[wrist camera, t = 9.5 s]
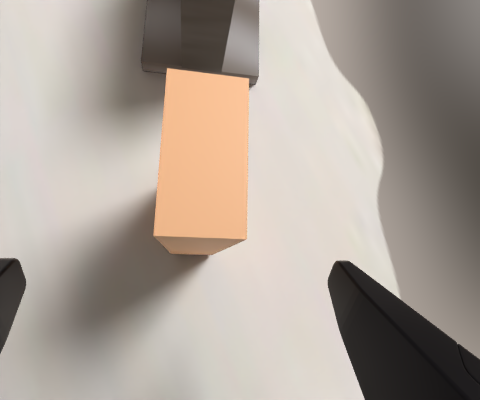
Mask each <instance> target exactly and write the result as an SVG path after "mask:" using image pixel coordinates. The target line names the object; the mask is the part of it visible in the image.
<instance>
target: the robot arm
mask: <svg viewBox="0 0 480 400" xmlns="http://www.w3.org/2000/svg"><path fill="white" fill-rule="evenodd" d="M25 288H26V279H25V276H24V273H23V270H22V267H21V264H20V262H19V260H18V259H15V258H0V353H1V351H2V349H3V347H4V345H5V342H6V340H7V337H8V335H9V332H10V329H11V326H12V324H13V321H14V318H15V315H16V313H17V310H18V307H19V305H20V302H21V299H22V296H23V294H24V291H25ZM328 288H329V292H330V296H331V300H332V304H333V308H334V312H335V316H336V319H337V323H338V327H339V330H340V333H341V336H342V339H343V342H344V345H345V347H346V350H347V353H348V355H349V358H350V361H351V364H352V366H353V369H354V372H355V374H356V377H357V380H358V382H359V385H360V388H361V390H362V393H363V396H364V398H365V400H480V359H478V358H477V357H476V356H474V355H473V354H472V353H470V352H469V351H468V350H467V349H465V348H464V347H462V346H461V345H460V344H457V342H456V341H454V340H453V339H452V338H450V337H449V336H448V335H447V334H445V333H444V332H443V331H441V330H440V329H439V328H437V327H436V326H435V325H433V324H432V323H430V322H429V321H428V320H427V319H425V318H424V317H423V316H421V315H420V314H419V313H417V312H416V311H414V310H413V309H412V308H411V307H409V306H408V305H407V304H405V303H404V302H403V301H402V300H400V299H399V298H398V297H396V296H395V295H394V294H392V293H391V292H390V291H388V290H387V289H386V288H384V287H383V286H382V285H380V284H379V283H378V282H376V281H375V280H374V279H372V278H371V277H370V276H368V275H367V274H366V273H364V272H363V271H362V270H360V269H359V268H358V267H357V266H355V265H354V264H353V263H351V262H350V261H336V262H335V263H334V265H333V267H332V270H331V273H330V275H329V278H328Z"/></svg>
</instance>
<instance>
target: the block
mask: <svg viewBox="0 0 480 400" xmlns="http://www.w3.org/2000/svg"><path fill="white" fill-rule="evenodd" d="M248 117H249V78H242V77H234V76H226V75H218V74H210V73H202V72H194V71H186V70H178V69H170V68H167V74H166V86H165V99H164V111H163V123H162V136H161V148H160V160H159V173H158V185H157V197H156V210H155V222H154V234H153V236H154V237H155V238H156V239H157V240H158V241H159V242H160V243H161V244H162V245H163V246H164V247H165V248H166V249H167V250H168V251H169V252H170V253H171V254H196V255H213V254H215V253H217V252H220V251H222V250H224V249H226V248H228V247H231V246H233V245H235V244H237V243H240V242H242V241H244V240H246V239H247V189H248Z"/></svg>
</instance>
